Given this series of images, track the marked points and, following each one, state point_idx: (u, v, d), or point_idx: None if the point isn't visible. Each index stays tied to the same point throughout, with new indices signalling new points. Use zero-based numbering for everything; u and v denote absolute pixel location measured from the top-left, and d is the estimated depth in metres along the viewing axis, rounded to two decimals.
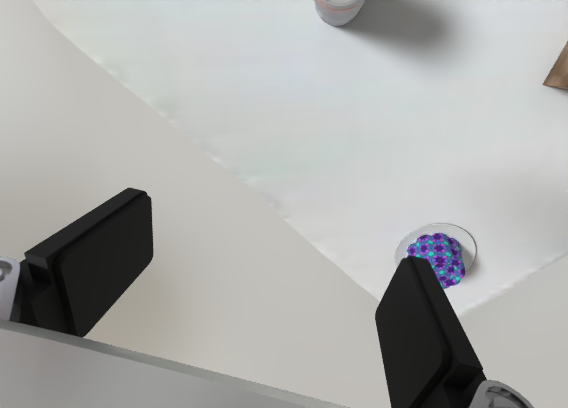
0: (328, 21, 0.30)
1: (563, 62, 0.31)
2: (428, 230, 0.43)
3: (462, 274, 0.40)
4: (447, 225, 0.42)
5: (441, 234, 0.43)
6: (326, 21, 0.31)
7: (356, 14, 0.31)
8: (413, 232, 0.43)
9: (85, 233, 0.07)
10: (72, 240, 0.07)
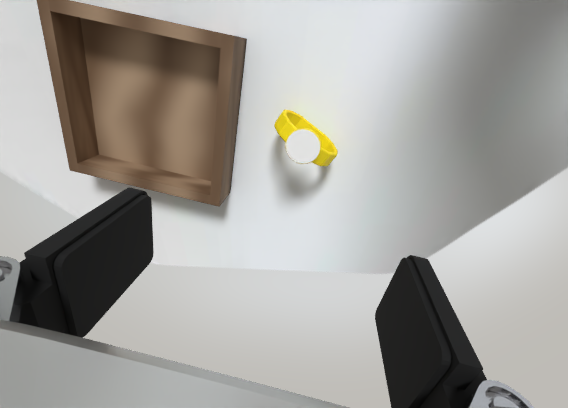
0: None
1: None
2: None
3: None
4: None
5: None
6: None
7: None
8: None
9: (85, 233, 0.07)
10: (71, 240, 0.07)
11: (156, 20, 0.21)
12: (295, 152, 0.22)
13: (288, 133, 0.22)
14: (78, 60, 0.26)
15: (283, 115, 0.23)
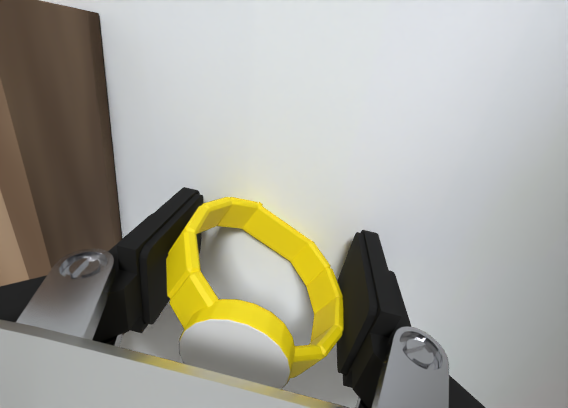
0: None
1: None
2: None
3: None
4: None
5: None
6: None
7: None
8: None
9: (160, 228, 0.08)
10: (151, 234, 0.08)
11: None
12: (211, 370, 0.07)
13: (190, 308, 0.07)
14: None
15: (184, 238, 0.08)
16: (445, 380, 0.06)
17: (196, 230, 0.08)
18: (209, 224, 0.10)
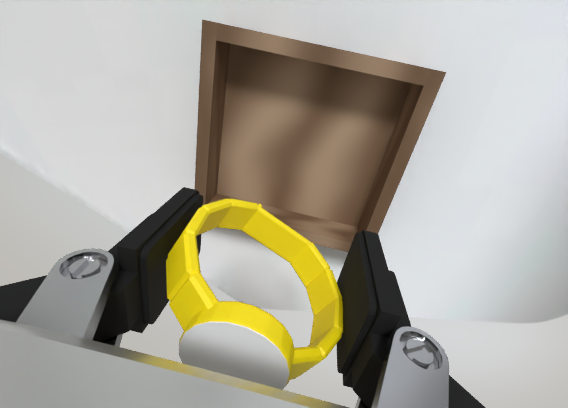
0: None
1: None
2: None
3: None
4: None
5: None
6: None
7: None
8: None
9: (160, 228, 0.08)
10: (151, 234, 0.08)
11: (350, 53, 0.18)
12: None
13: (189, 310, 0.07)
14: (221, 93, 0.22)
15: (184, 240, 0.08)
16: (445, 380, 0.06)
17: (196, 232, 0.08)
18: (209, 225, 0.10)
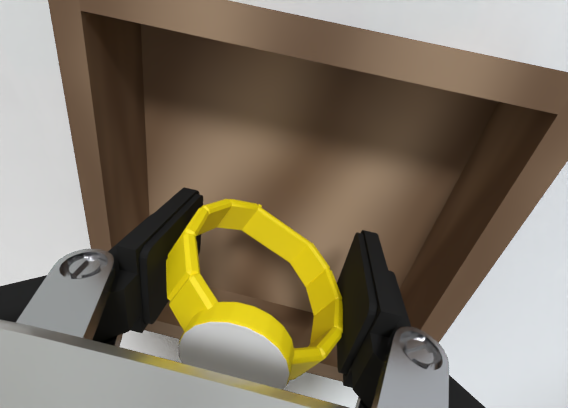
0: None
1: None
2: None
3: None
4: None
5: None
6: None
7: None
8: None
9: (160, 228, 0.08)
10: (151, 234, 0.08)
11: (386, 37, 0.08)
12: None
13: (189, 311, 0.07)
14: (132, 118, 0.12)
15: (184, 240, 0.08)
16: (445, 380, 0.06)
17: (196, 232, 0.08)
18: (208, 226, 0.10)
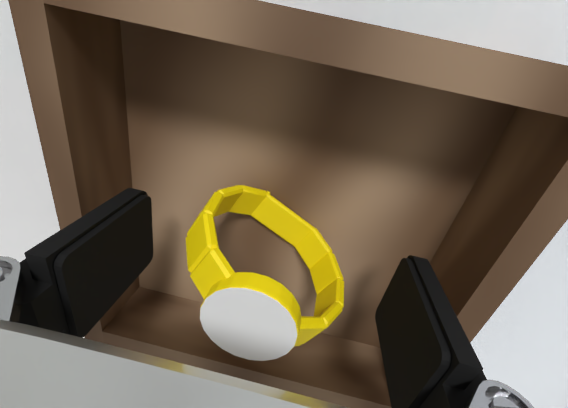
0: None
1: None
2: None
3: None
4: None
5: None
6: None
7: None
8: None
9: (85, 233, 0.07)
10: (71, 240, 0.07)
11: (395, 34, 0.06)
12: (227, 334, 0.08)
13: (209, 280, 0.08)
14: (112, 124, 0.11)
15: (203, 219, 0.09)
16: None
17: (213, 213, 0.09)
18: (222, 209, 0.11)
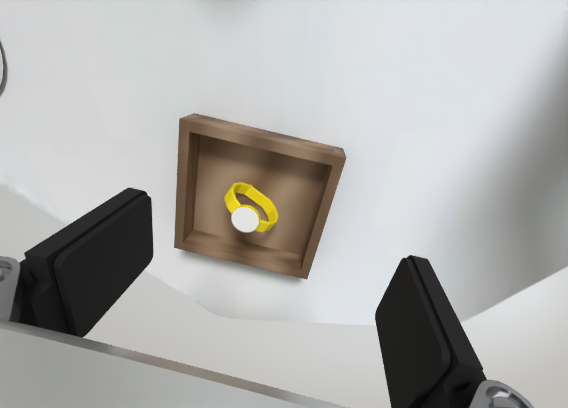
0: None
1: (212, 120, 0.28)
2: None
3: None
4: (0, 77, 0.30)
5: None
6: None
7: None
8: None
9: (85, 233, 0.07)
10: (71, 240, 0.07)
11: (281, 143, 0.26)
12: (239, 223, 0.27)
13: (234, 208, 0.27)
14: (195, 160, 0.30)
15: (231, 191, 0.28)
16: None
17: (233, 189, 0.28)
18: (234, 190, 0.30)
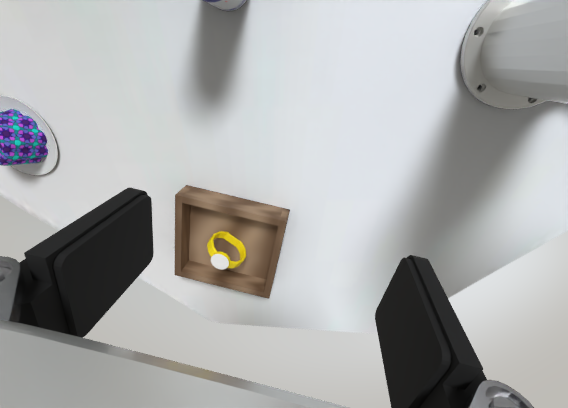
0: None
1: (198, 192, 0.41)
2: (51, 145, 0.42)
3: None
4: (54, 163, 0.43)
5: (45, 154, 0.43)
6: None
7: None
8: (50, 132, 0.41)
9: (85, 233, 0.07)
10: (71, 240, 0.07)
11: (243, 211, 0.39)
12: (216, 263, 0.40)
13: (212, 253, 0.40)
14: (187, 216, 0.43)
15: (211, 241, 0.41)
16: None
17: (213, 239, 0.41)
18: (215, 237, 0.43)
